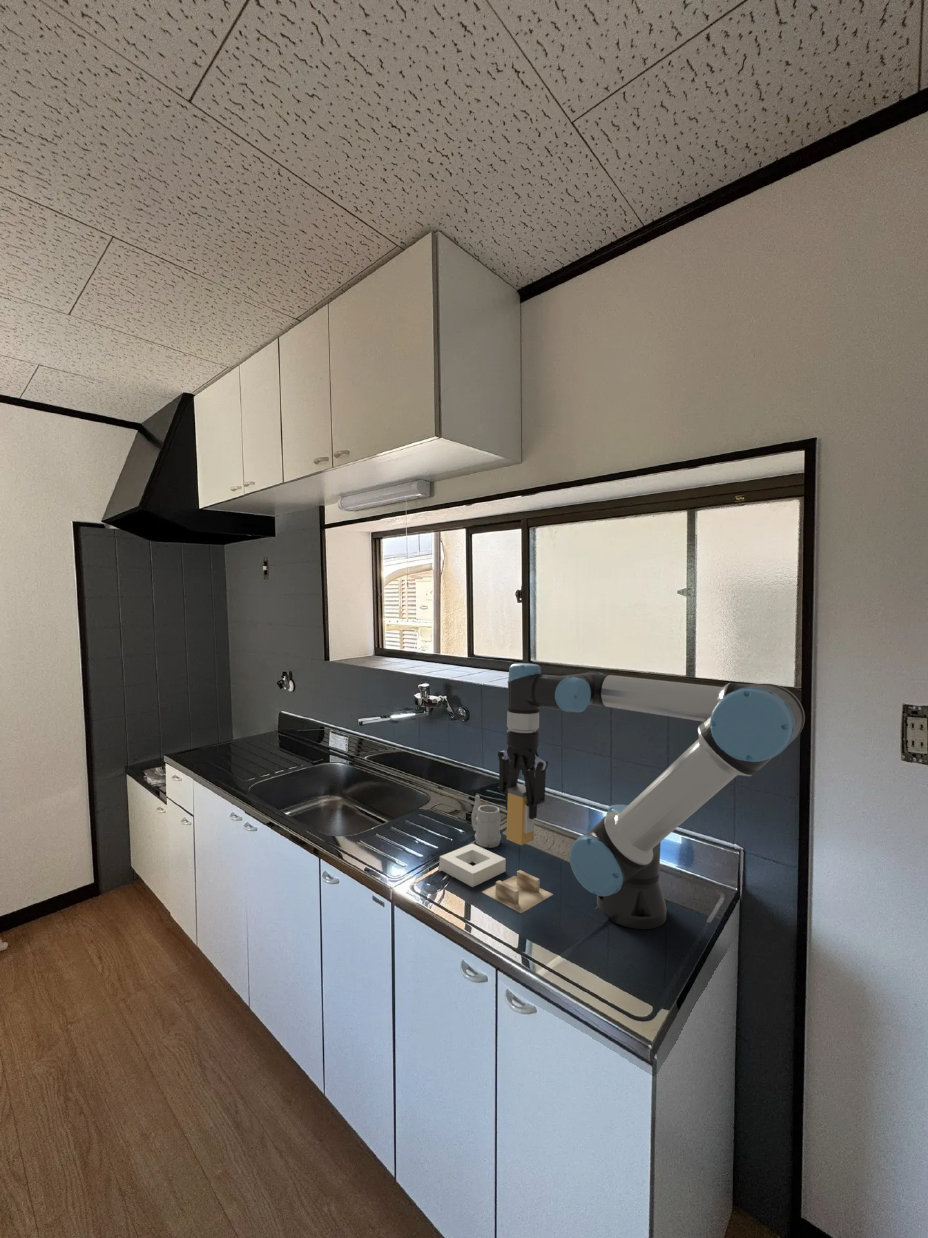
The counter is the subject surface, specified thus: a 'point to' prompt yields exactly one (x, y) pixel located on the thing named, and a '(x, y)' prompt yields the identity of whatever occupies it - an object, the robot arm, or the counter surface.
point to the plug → (517, 815)
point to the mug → (486, 824)
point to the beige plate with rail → (518, 892)
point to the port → (471, 875)
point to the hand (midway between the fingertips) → (520, 828)
